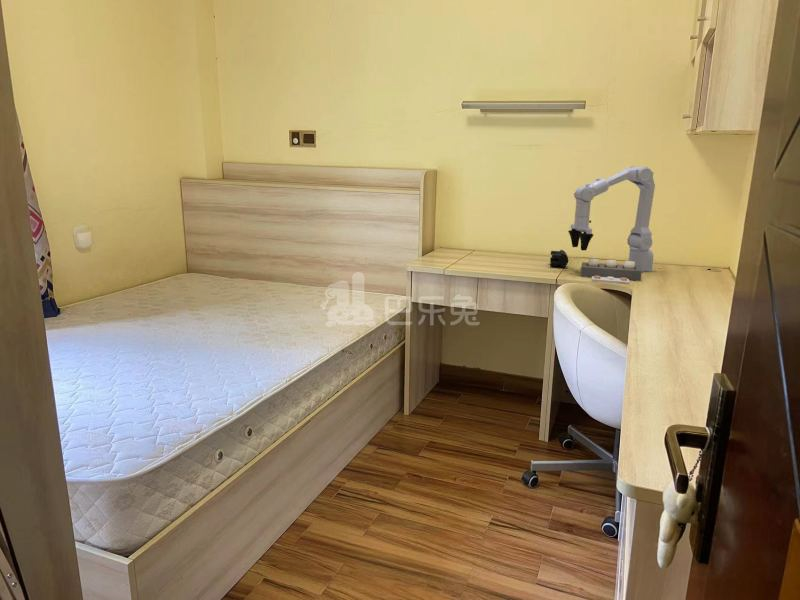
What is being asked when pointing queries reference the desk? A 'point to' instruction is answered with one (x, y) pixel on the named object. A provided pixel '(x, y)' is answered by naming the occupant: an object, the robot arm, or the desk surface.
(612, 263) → the button
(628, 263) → the button
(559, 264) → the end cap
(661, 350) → the desk surface
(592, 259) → the button
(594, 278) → the pattern card
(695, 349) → the desk surface
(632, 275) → the grey slotted tray
